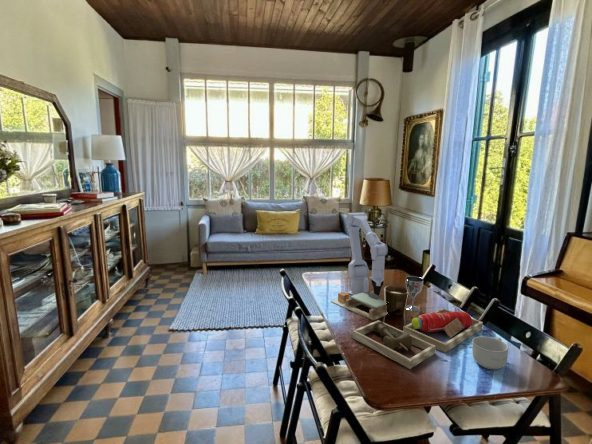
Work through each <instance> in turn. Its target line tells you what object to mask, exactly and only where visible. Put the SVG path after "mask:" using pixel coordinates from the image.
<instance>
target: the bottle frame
mask: <svg viewBox="0 0 592 444" xmlns="http://www.w3.org/2000/svg"><path fill="white" fill-rule="evenodd" d="M448 312H454V311H453V310H450V309H446V308H444V307H441V308H439V309H437V310H435V311H434V312H433V311H432V313H448ZM471 318H472V325H471V327H470V328H468V329H465V330H463V331H462V332H460V333H459V334H457V335H456V336H454V337H451V339H449V340H447V341H446V342H443V341H441V340H438V339H436V338H433V337H431V336H430V335H429V336H428V335H426V334H425V333H423V332H421V331H420V332H419V331H418V330H416V329H414V328H413V326H412V322H410V323H408V324H406V325H403V327H402V328H403V329H402V331H404V332H407V333H408V334H410V335H413V336H415V337H417V338H419V339H422V340H424V341H426V342H428V343H430V344H433V345H435V346H436V348H435V350H439V351H441V352H443V353H447V352H448V351H450V350H451V349H453V348H455V347H457V346H458V345H459V344H461V343H462V342H465V340H468V338H470V337H472V336H473V335H475V334H476V333H478V332H479V331H481V330H483V326H484V325H483V324H484V322H483V321H481V320H479V319H476V318H473V317H471Z"/></svg>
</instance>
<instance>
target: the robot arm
mask: <svg viewBox="0 0 592 444" xmlns="http://www.w3.org/2000/svg"><path fill="white" fill-rule="evenodd" d="M345 222H346V228H347V229H348V234H349V242H350V249H351V259H352V260H351V261H350V262H349V263H348V270H347V272H348V273H347V274H348V276H349V278H351V279H350V280H351V281H350V290H349V291H347V292H346V293H348V294H349V295H351V296H353V295H356V294H359V293H367V292H369V287H370V285H369V283H370V281H371V285H372V287H373V291H374V294H377V295H379V296H380V294H381V290H382V288H383V285H384V280H385V263H386V261H385V259H386V256H387V255H388V253H389V251H388V250H389V248H388V245H387V244H386V243H384V241H383V242H382V241H381V239H380V238H379V236H378V235H377V233H376V232H373V231H372V229H371V227H370V224H369V223H368V215H367V213H366V212H348V213H347V215H346V217H345ZM360 229H361V230H362V232H363V233H364V235H365V240H366V243H367V244H368V245H369V248H370V250H369V251H370V255H371V256H370V257H371V260H372V261H371V262H372V264H371V275H369V273H370V271H369V267H368V263H367V262H366V261H365V260H364V259H363V256H362V247H361V240H360V232H359V231H360ZM368 276H369V277H368ZM369 279H370V281H369Z"/></svg>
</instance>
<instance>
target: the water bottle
mask: <svg viewBox="0 0 592 444" xmlns="http://www.w3.org/2000/svg"><path fill="white" fill-rule="evenodd" d="M472 318H473V317H472V316H471V315H470V314H469V313H468V312H465V311H463V310H455V311H453V312H448V313H433V312H429V313H422V314H419V315H418V316H417V317H414V318H412V319H411V323H412V326H413V328H414V329H415V330H420V332H422V333H423V332H424V333H438V332H441V331H442V332H443V331H444V332H445V334H446V335H447V337H448V338H449V339H450V338H451V339H452V338H453V336H454V337H455V335H456V334H458V333H459V332H460V331H465V330H467V329H469V328H470V327H472V326H471V325H472Z"/></svg>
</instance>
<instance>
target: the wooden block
mask: <svg viewBox="0 0 592 444" xmlns="http://www.w3.org/2000/svg"><path fill="white" fill-rule="evenodd" d="M349 298H350V294H349V293H347V292H346V291H341V292H337V299H338V301H339V302H342V303H345V301H346V300H347V299H349Z"/></svg>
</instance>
